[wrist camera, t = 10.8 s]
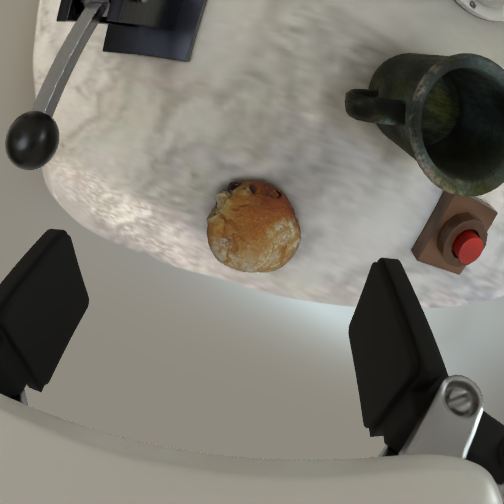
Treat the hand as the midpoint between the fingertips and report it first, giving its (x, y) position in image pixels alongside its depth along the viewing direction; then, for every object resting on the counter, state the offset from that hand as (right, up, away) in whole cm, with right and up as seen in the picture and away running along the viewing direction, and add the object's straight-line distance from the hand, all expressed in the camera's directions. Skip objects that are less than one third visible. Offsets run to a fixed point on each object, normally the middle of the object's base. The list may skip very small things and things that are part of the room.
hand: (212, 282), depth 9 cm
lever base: (-8, +24, +13) cm, 29 cm away
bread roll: (+1, +5, +26) cm, 27 cm away
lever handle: (-10, +12, +6) cm, 17 cm away
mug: (+16, +16, +17) cm, 29 cm away
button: (+26, +2, +22) cm, 34 cm away
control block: (+26, +4, +25) cm, 36 cm away
